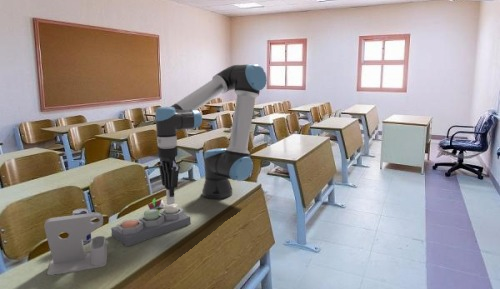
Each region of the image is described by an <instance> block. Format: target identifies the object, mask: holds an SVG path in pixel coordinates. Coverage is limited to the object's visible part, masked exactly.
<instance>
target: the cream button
mask: <svg viewBox="0 0 500 289" xmlns="http://www.w3.org/2000/svg"><path fill="white" fill-rule="evenodd" d="M178 207H179V204H178V203H174V204H171V205H168V204H167V203H166V204H165V206H164V208H163V209H164V210H165V213H166V214H175V213H177V212H178V211H179V208H180V207H179V208H178Z"/></svg>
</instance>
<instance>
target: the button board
mask: <svg viewBox="0 0 500 289" xmlns="http://www.w3.org/2000/svg"><path fill="white" fill-rule="evenodd" d="M178 208H179V211H178V212H177V213H175V214H166V213H165V210H164V208H163V209H162V210H161V212H160V213H159V218H158V219H156V220H152V221H147V220H145V219H144V215H142V216H141V217H140V218H138V219H134V220H136V221H137V222H138V225H137V226H135V227H132V228H122V223H123V222H124V221H127V219H126V220H123V221H121V222H120V223H119V224H117V225H116V226H113V227H111V228H110V229H111V236H113V237H114V238H115V239H116V240H118V241H119V242H120V243H122V244H123V245H124V246H126V247H130V246H133V245H136V244H138V243H141V242H144V241H147V240H149V239H153V238H155V237H158V236H161V235H165V234H166V233H168V232H169V233H170V232H171V231H174V230H177V229H180V228H183V227H186V226H189V225H191V224H192V222H191V221H192V220H191V216H190V215H187V214H185V212H184V209H183V208H181V207H179V206H178Z"/></svg>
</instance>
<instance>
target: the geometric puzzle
mask: <svg viewBox="0 0 500 289" xmlns="http://www.w3.org/2000/svg"><path fill="white" fill-rule="evenodd" d="M156 199H157V198H156V197H154V198H153V199H152V200H151V201H150V203H147V207H148V208H149V210H152V209H155V210H158V211H159V213H160V212H161V211H162V210H163V209H164V206H165V205H166V203H165V201H163V199H160V198H159V199H158V200H156Z"/></svg>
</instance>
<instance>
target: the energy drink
mask: <svg viewBox="0 0 500 289" xmlns="http://www.w3.org/2000/svg"><path fill="white" fill-rule="evenodd" d="M86 213H90V212H89V209H88V208H85V207H83V208H82V207H80V208H76V209H74V210H72V213H71V215H78V214H86ZM82 240H83V245H86V244H88V243H91V240H92V233H90V234H89V235H87V236H86V237H84V238H83V239H82Z"/></svg>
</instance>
